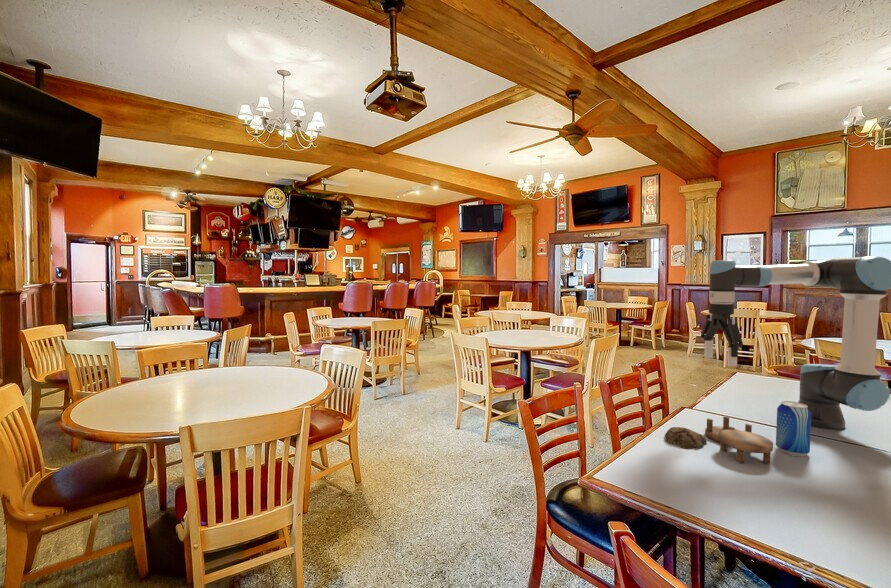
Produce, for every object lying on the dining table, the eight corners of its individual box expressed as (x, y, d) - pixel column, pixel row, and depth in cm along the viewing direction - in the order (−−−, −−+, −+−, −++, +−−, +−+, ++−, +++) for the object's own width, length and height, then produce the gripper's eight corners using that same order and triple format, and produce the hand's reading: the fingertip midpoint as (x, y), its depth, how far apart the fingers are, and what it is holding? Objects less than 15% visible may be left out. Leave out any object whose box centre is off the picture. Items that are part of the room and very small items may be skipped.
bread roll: (670, 432, 148) (670, 419, 148) (709, 442, 139) (709, 428, 139) (658, 442, 139) (659, 428, 139) (699, 453, 130) (700, 438, 130)
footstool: (751, 447, 134) (751, 429, 134) (784, 467, 120) (785, 447, 120) (708, 446, 135) (709, 429, 135) (736, 466, 121) (737, 447, 121)
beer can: (816, 458, 126) (818, 409, 125) (785, 456, 128) (787, 407, 127) (798, 447, 134) (800, 400, 133) (770, 445, 136) (771, 399, 135)
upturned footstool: (724, 429, 150) (724, 413, 150) (763, 444, 137) (763, 427, 137) (695, 433, 146) (696, 417, 146) (733, 449, 133) (733, 431, 132)
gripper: (691, 301, 155) (690, 354, 156) (733, 305, 130) (731, 369, 131) (711, 300, 155) (709, 354, 156) (757, 305, 130) (755, 369, 131)
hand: (719, 361), depth 144 cm, fingers open, 13 cm apart
